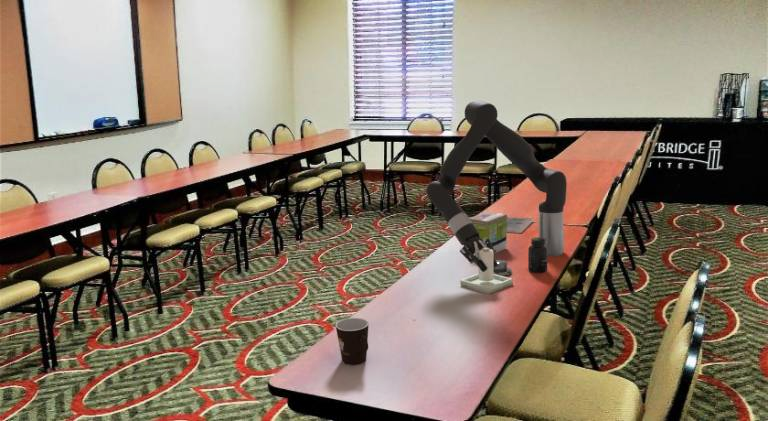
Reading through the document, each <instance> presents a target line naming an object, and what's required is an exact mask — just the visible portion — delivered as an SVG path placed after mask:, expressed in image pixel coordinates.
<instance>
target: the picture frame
mask: <svg viewBox="0 0 768 421" xmlns="http://www.w3.org/2000/svg"><path fill="white" fill-rule="evenodd" d="M533 221H534V220H533V218H532V217H530V218H529V217H518V216H517V217H514V216H513V217H512V216H507V233H511V234H512V233H514V234H515V233H516V234H522V233H523V232H524V231H525V230H526V229H527V228H528V227H529V226H530V225H532V223H533Z"/></svg>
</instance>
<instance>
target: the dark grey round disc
mask: <svg viewBox="0 0 768 421" xmlns="http://www.w3.org/2000/svg"><path fill="white" fill-rule="evenodd" d="M495 260H496V262H497V264H498V265H497V266H496V267H495V268H494V274H496V275H500V276H504V277H508V276H511V275H512V273H513V270H512V269H511V268H510V267H508V263H507V261H506V260H502V259H495Z"/></svg>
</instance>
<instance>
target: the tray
mask: <svg viewBox="0 0 768 421" xmlns="http://www.w3.org/2000/svg"><path fill="white" fill-rule="evenodd" d="M513 282H514V280H513V278H511V277H508V276H505V277H504V276H500V275H496V274H494V279H493V280H492V281H481V280H479V272H478V273H476V274H473V275H470V276H468V277H465V278H462V279H460V282H459V284H460V286H461V287H464V288H467V289H471V290H475V291H478V292H481V293H484V294H488V295H490V294H493V293H494V292H497V291H499V290H502V289H505V288H507V287H509V286H512V285H513V284H514V283H513Z"/></svg>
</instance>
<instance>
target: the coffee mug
mask: <svg viewBox="0 0 768 421" xmlns="http://www.w3.org/2000/svg"><path fill="white" fill-rule="evenodd" d="M335 331H336V335H337V340H338V347H339V351H340V356H341V357H340V358H341V361H343V362H344V363H345V365H347V364H349V365H348V366H357V364H359V365H362V364H364V363H365V362H366V361H367V354H368V350H369V342H368V341H369V340H368V339H369V320H368V319H367V320H366V319H365V318H360V317H350V318H349V317H348V318H344V319H340V320H339V321H337V322H336V323H335ZM343 362H342V363H343ZM363 362H364V363H363ZM344 363H343V364H344ZM361 363H362V364H361Z"/></svg>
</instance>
